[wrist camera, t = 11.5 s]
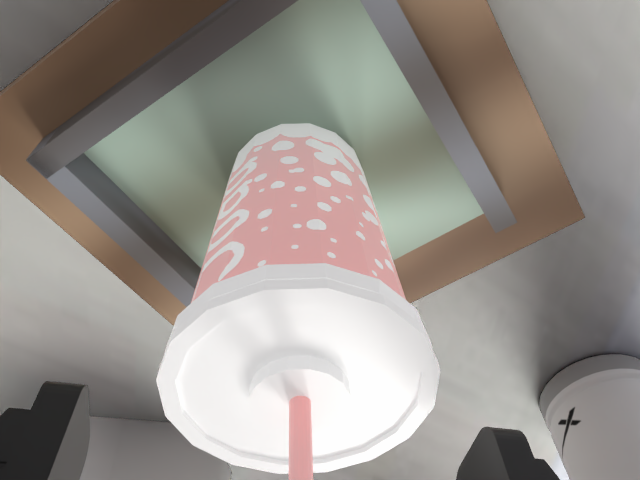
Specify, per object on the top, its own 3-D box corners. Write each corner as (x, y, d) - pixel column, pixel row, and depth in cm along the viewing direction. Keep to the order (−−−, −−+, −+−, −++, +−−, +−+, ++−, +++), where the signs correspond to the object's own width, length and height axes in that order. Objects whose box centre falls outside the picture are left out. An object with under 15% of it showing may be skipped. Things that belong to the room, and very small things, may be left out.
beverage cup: (321, 61, 17) (376, 515, 6) (418, 202, 20) (575, 678, 9) (169, 165, 19) (-12, 662, 8) (278, 280, 22) (263, 755, 11)
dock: (555, 177, 24) (602, 241, 20) (246, 337, 28) (239, 412, 25) (374, -209, 16) (398, -219, 12) (-8, 97, 21) (-72, 155, 17)
